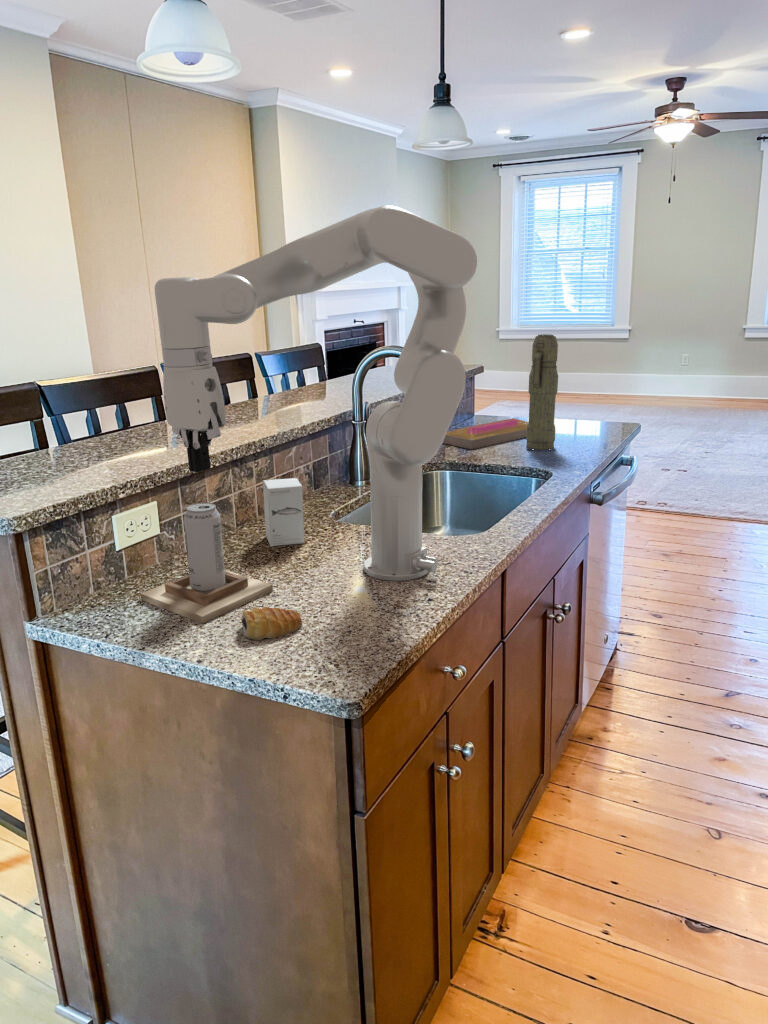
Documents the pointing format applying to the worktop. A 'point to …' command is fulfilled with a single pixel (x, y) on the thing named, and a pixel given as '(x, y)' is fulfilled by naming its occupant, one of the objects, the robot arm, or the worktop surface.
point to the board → (206, 596)
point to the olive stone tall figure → (542, 393)
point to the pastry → (269, 622)
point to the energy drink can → (204, 547)
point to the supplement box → (283, 511)
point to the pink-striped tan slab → (499, 429)
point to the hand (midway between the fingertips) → (200, 469)
